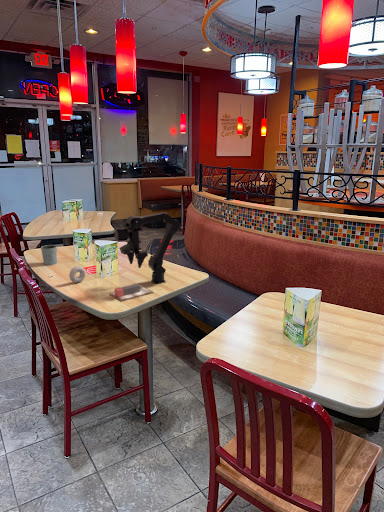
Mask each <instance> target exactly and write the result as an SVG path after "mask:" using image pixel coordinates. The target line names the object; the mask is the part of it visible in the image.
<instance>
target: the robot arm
mask: <svg viewBox="0 0 384 512" xmlns="http://www.w3.org/2000/svg"><path fill="white" fill-rule="evenodd" d="M158 221H163V222H164V223H165V224H166V225H165V233H164V235H163V237H162V238H161V239H162V240H161V241H160V244H159V246H158V247H157V250H156V252H155V254H154V255H152V254H151V255H150V257H149V259H148V261H147V262H148V263H147V264H148V267H149V268H150V269H151V271H152V272H151V273H152V274H151V280H150V281H151V282H152V283H154V284H156V285H158V284H163V283H165V282H167V281H166V280H165V273H166V268H165V267H163V264H164V256H165V254H166V252H167V250H168V247H169V245H170V243H171V241H172V239H173V237H174V235H175V234H177V233H178V231H179V230H180V228H181V225H182V224H181V221H180V220H178V219H175V218H173V217H172V216H171V215H169V214H168V213H167V212H165V211H164V212H163V211H161V212H158V213H151V214H147V215H130V216H128V218H127V219H126V222H125V224H124V226H123V227H122V228H115V232H114V240H115V241H116V242H122V241H127V242H126V244H124V245H122V246H120V247H119V250H120V251H119V252H120V253H121V254H123V255H125V256H127V258H128V261H129V264H130V265H132V264H133V262H134V258H135V259H136V260H137V267H138V269H141V267H142V265H143V263H144V262H145V260H146V258H147V257H148V256H149V253H148V251H147V250H145V249H144V250H143V249H142V248H141V245H140V244H141V243H142V240H140V232H142V231H144V230H143V228H141V227H142V226H143V225H145V224H149V223H154V222H158Z"/></svg>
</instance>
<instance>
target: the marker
mask: <svg viewBox="0 0 384 512" xmlns="http://www.w3.org/2000/svg"><path fill="white" fill-rule="evenodd" d="M142 286H143V285H139V284H138V283H134V284H129V285H126V286H122V287H116V288H114V292H115V296H117V297H122V296H126V295H130V294H133V293H137V292H140V289H142Z"/></svg>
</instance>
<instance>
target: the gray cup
mask: <svg viewBox="0 0 384 512" xmlns="http://www.w3.org/2000/svg"><path fill="white" fill-rule="evenodd" d="M57 248H58V247H57V245H55V244H46V245H41V247H40V250H41V255H42V261H43V265H44V266H54V264H55V265H57V264H58V254H57V253H58V252H57V251H58V250H57Z"/></svg>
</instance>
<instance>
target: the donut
mask: <svg viewBox="0 0 384 512" xmlns="http://www.w3.org/2000/svg"><path fill="white" fill-rule="evenodd" d="M77 273H79V275H78V276H76V274H77ZM68 277H69V279H70V281H71V282H73V283H75V284H76V283H78V284H79V283H81V282H82V281H84V279H85V278H86V269H85V268H84V267H83V266H80V265H79V266H77V265H76V266H74V267H72V268H71V269H70V271H69V275H68Z"/></svg>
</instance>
